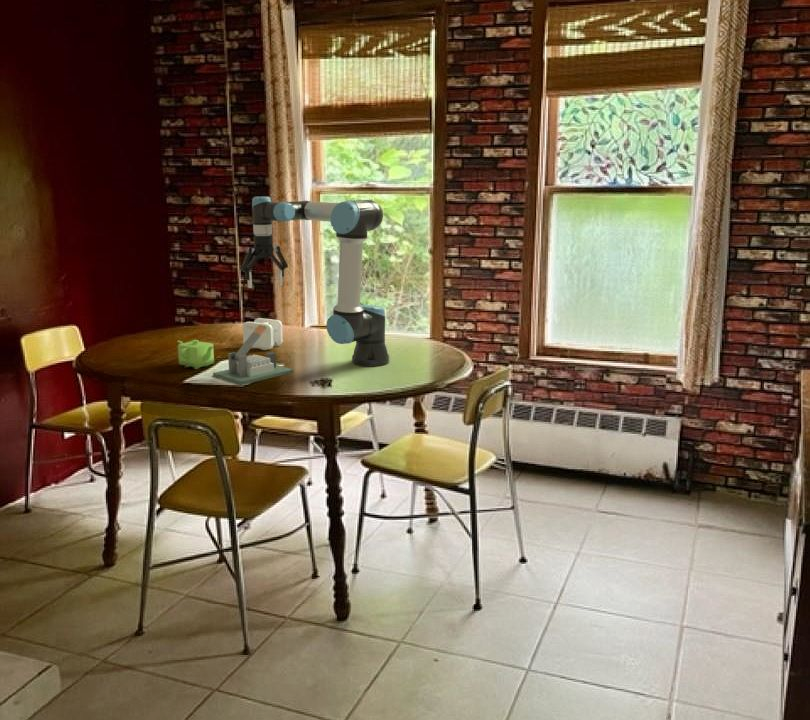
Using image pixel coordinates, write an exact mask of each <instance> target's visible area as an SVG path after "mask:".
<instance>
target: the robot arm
mask: <svg viewBox="0 0 810 720" xmlns="http://www.w3.org/2000/svg"><path fill="white" fill-rule="evenodd" d="M251 200H252V201H251V202H252V204H251V205H252V206H251V211H252V224H253V225H252V227H253V235H254V236H253V246H254V247H248V246H247V248H246V253H245V255H244V256H245V257H244V258H243V261H242V264H241V265H240V271H242V272H244V275H245V276H244V277H245V280H246V281H247V288H249V289H253V282H252V281H253V278H252V276H253V275H252V271H251V270H252V269H253V267H254V265H255V264H256V263H257V261H258V260H259V259H260V258H261V259H264V258H266V259H268V258H270V260H271V261H272V262H273V263H274V264H275V265H276V267H278V268H277V285H278V286H283V278H284V277H285V271H284V270H286V269H287V268H288V267H289V265H288V263H287V261H286V259H285V257H284V255H283V253H282V251H281V247H280V246H279V245H275V246H273V245H274V244H273V235H272V234H273V225H272V223H273V222H282V223H284V222H285V223H286V222H290V221H297V220H298V221H300V220H301V221H319V222H330V226H331V227H332V229H333V231H334V232H336V233H335V236H336V238H337V239H338V240H339V257H338V258H339V259H338V280H337V281H338V282H337V283H338V284H337V286H338V287H337V303H336V304H335V305H334V306H333V308H332V315H330V316H329V318H328V319H327V321H326V331H327V333H328V336H329V337H330V338H331V340H332V341H333V342H335V343H336V344H338V345H339V344H340V345H346V344H352V343H354V342H355V345H354V350H353V354H352V355H351V363H352V364H354V365H356V366H362V367H378V366H379V367H380V366H384V365H387V363H388V364H389V363H390V355H389V353H388V349H387V344H386V312H385V309H384V307H383V306H379V305H378V306H377V305H370V304H369V305H367V304H361V289H362V288H361V287H362V285H361V284H362V269H363V266H362V265H363V249H364V248H363V245H364V242H365V241H366V240H367V239H368V232H371V231H374V230H376V229H378V228H379V226H381V224H382V223H383V218H384V212H383V209H382V207H381V205H380V204H379V203H378V202H376V201H374V200H371V199H362V200H361V199H360V200H359V199H357V200H356V199H355V200H352V199H351V200H344V201H340V202H328V201H327V202H326V201H325V202H324V201H310V200H299V201H298V200H297V201H296V200H295V201H272V200H271V197H270V196H254V197H253V198H252V199H251ZM272 221H273V222H272ZM253 252H254V255H253V256H252V254H253ZM273 252H275V253H276V256H277V257H276V256H275V254H273ZM251 257H252V258H251ZM277 258H278V259H279V260H278V259H277Z"/></svg>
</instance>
